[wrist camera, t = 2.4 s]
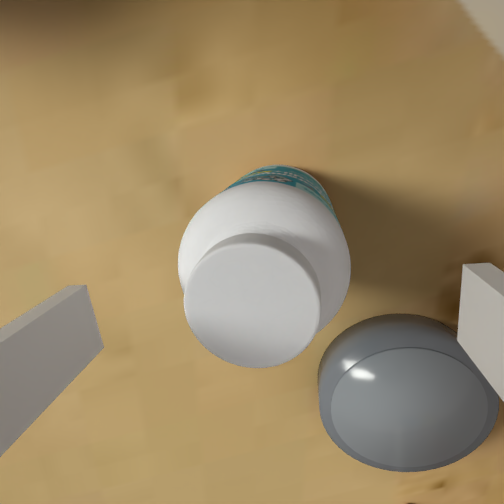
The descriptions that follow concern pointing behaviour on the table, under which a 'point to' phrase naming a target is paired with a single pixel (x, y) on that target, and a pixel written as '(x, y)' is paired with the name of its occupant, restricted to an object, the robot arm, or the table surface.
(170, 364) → the table surface
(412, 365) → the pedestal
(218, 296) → the pill bottle
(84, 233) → the table surface
